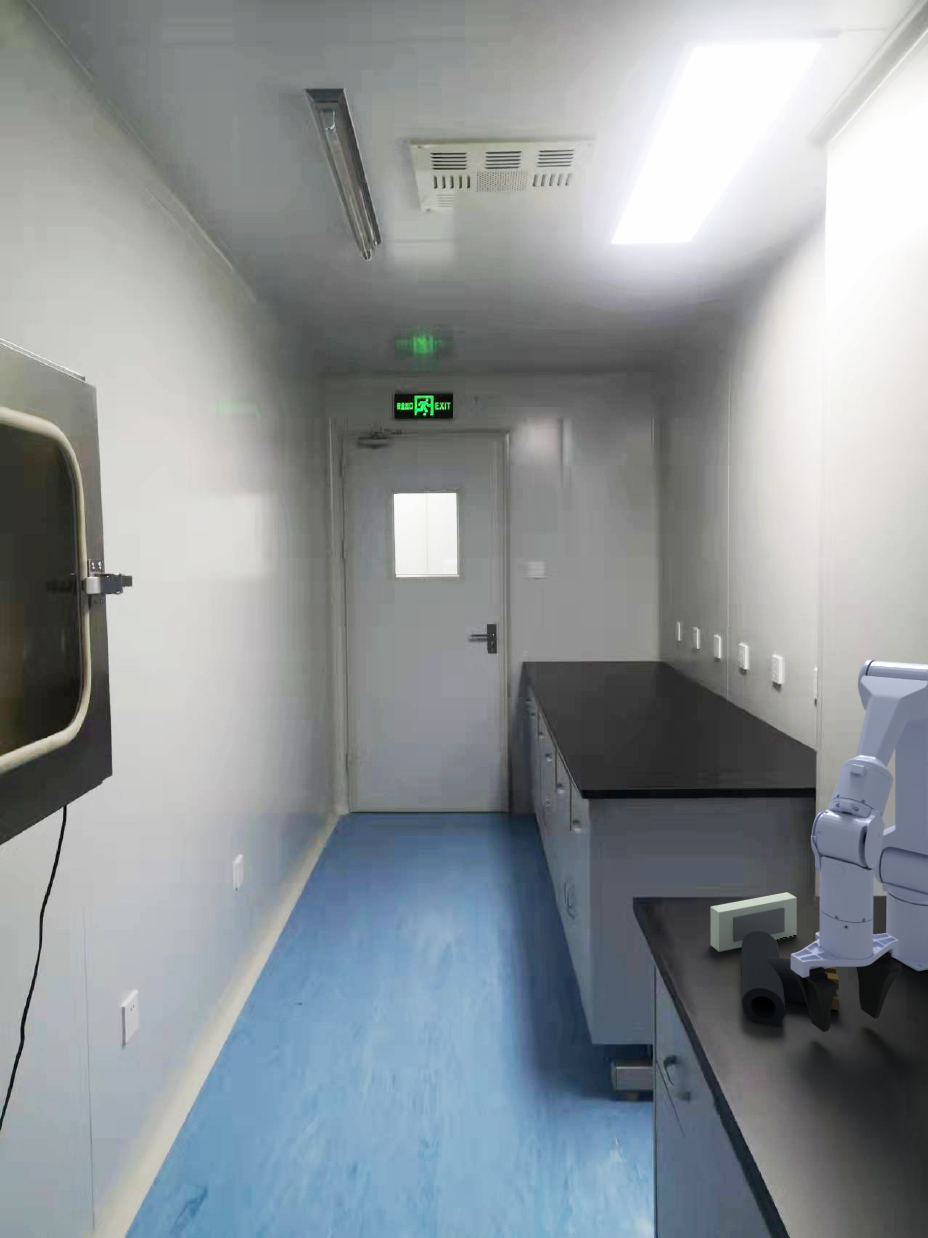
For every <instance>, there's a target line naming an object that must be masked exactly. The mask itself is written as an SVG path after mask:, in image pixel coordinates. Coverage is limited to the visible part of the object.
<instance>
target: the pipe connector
mask: <svg viewBox="0 0 928 1238" xmlns="http://www.w3.org/2000/svg"><path fill="white" fill-rule="evenodd" d="M825 973H827V974H828V978H829V979H831V980H832V981H834V982H835V983H836V984H838V985H839V986H838V988H837V990H836V992H835V995H834V998H833V1001H832V1006H831V1010H832V1011H833V1010H835V1011H840V998H839V995H838V993H837V991H839V990H840V988H839V987H840V983H839V982H840V981H839V976H838V973H837V967H830V968H826V969H825ZM785 1001H789V1002H796V1003H802V1004H803V1003H804V1004H807V1003H806V1000H805V997H804V994H803V992H802V990H801V987H800V985H799V983H798V981H797V979H796V977H795V976H794V974H793V972H792V971H791V958H785V957H783V958H782V957H781V955H780V946H779V944H778V942H777V940H775V939H774V938H773V937H772V936H771V935H769V934H768V933H765V932H762V931H753V932H750V933H748V934H747V935H746V936H745V937H744V939H743V941H742V947H741V1006H742V1007H741V1008H742V1012H743V1013H744V1015H745V1016H746V1018H747V1019H748V1020H749V1021H750V1022H751V1023H753V1024H755V1025H756V1024H757V1025H761V1026H762V1025H763V1026H767V1027H777V1026H778V1025H780V1024H781V1023H782V1022H783V1021H784V1019H785V1017H786V1003H785Z"/></svg>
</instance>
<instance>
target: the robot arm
mask: <svg viewBox="0 0 928 1238" xmlns="http://www.w3.org/2000/svg"><path fill="white" fill-rule="evenodd" d="M857 677H858V678H857V679H858V680H857V689H858V694H859V697H860V700H861V705H862V707H863V710H864V711H865V714H864V718H863V724H862V728H861V731H860V737H859V741H858V746H857V751H856V755H855V757H853V758H852V757H851V758H850V759H847V760H845V761H844V762H843V764H842V766H841V770H840V772H839V774H838V778H837V781H836V782H835V783H836V785H835V786H834V790H833V792H832V796H831V798H830V801H829V802H828V803H829V804H828V808H827V809H826V810H825V811H820V812H819V813H817V814H816V816H815V818H814V820H813V823H812V829H811V836H810V845H811V850H812V852H813V854H814V866H815V869H816V870H817V871H818V872H819V931H817V932H815V940H814V941H813V942H812V943H810V944H809V945H807V946H805V947H804V948H802V949H801V950H799V951H797V952H792V953H791V954H790V959H791V971H792V972H793V974H794V976H795V977H796V979H797V981H798V983H799V985H800V987H801V990H802V992H803V994H804V997H805V1000H806V1003H805V1004H806V1006H807V1009H808V1013H809V1014H808V1015H809V1017H810V1021H811V1024H812V1025H813V1026H815V1027H816V1028H817V1029H818V1030H819V1031H821V1032H823V1033H827V1032H829V1030H830V1027H831V1018H832V1017H831V1015H832V1009H831V1006H832V1001H833V998H834V995H835V992H836V993H837V991H838V990H837V988H838V986H839V987H840V984H839V985H838V984H836V983H835V982H834V981H832V980H831V979H829V978H828V974H827V973H825V969H826V968H830V967H836V968H837V967H839V968H841V967H842V968H844V967H849V968H850V967H852V968H854V967H856V973H857V979H858V996H859V997H858V998H859V999H858V1000H859V1004H860V1009H861V1011H863V1012H864V1013H866V1014H867V1015H869V1016H870V1017H871V1018H872V1019H874V1020H876V1019H879V1017H880V1015H881V1012H882V1009H883V1006H884V1003H885V1000H886V998H887V995H888V993H889V991H890V988H891V987H892V985H893V983H894V982H895V980H896V979H897V978H898V976H899V975H901V974H902V964H904V965H906V966H907V967H910V968H911V969H913V970H915V971H916V972H921V971H925V970H928V664H927V663H925V664H924V663H913V662H899V661H898V662H897V661H885V660H884V661H881V660H877V659H867V660H866V661H865V662H864V663H863V664H862V666H861V667H860V670H859V673H858V676H857ZM893 754H894V763H895V764H894V776H895V777H894V776H893V774H892V773H891V771H890V769H888V766H889V764H890V761H891V759H892V756H893ZM893 785H894V786H895V787H894V790H895V791H894V805H895V806H894V816H895V817H894V818H895V819H894V823H895V824H894V825H891V826H890V827H887V828H885V821H884V820H883V816H884V813H885V810H886V806H887V803H888V800H889V797H890V793H891V791H892V790H891V789H892V787H893ZM874 878H875V879H876V882H877V883H879V884H882V891H883V892H886V918H885V919H886V924H885V925H886V926H885V928H886V929H885V932H884V933H876V934H875V933H874V883H875V882H874V881H875V879H874ZM893 958H894V959H893ZM895 959H896V960H895ZM901 963H902V964H901Z"/></svg>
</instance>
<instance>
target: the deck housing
mask: <svg viewBox="0 0 928 1238" xmlns="http://www.w3.org/2000/svg"><path fill="white" fill-rule="evenodd" d="M797 901H798V899H797V897H796V896H795V895H793V894H791V893H789V892H787V891H786V892H783V893H782V892H781V893H777V894H776V893H775V894H770V895H766V896H760V897H759V896H758V897H755V898H750V899H744V900H738V901H735V902H734V901H733V902H728V903H722V904H718V905H717V904H716V905H712V906H710V946H711V947H713V949H715V950H716V951H717V952H719V953H720V952H725V951H730V950H733V949H734V950H735V949H739V948H742V941H743V939H744V937H745V936H746V935H747V934H748V933H750V932H753V931H762V932H765V933H768V934H769V935H771V936H772V937H773V938H774V939H775V940H776V941H777V939H778V940H781V939H780V938H783V937H787V938H790V937H789V936H792V937H794V936H793V935H797V933H798V931H797V925H798V924H797V923H798V922H797V921H798V920H797V916H798V915H797V913H798V912H797V910H798V909H797V908H798V907H797V905H798V903H797ZM783 939H784V938H783Z"/></svg>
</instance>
